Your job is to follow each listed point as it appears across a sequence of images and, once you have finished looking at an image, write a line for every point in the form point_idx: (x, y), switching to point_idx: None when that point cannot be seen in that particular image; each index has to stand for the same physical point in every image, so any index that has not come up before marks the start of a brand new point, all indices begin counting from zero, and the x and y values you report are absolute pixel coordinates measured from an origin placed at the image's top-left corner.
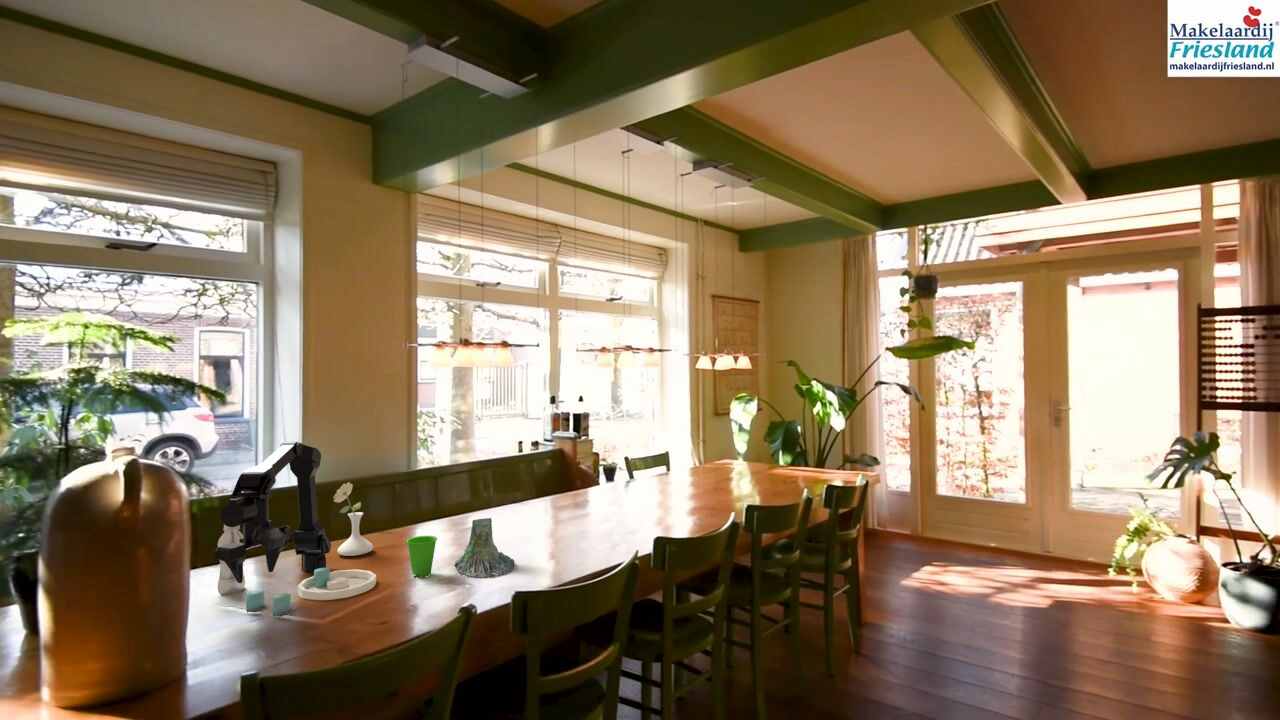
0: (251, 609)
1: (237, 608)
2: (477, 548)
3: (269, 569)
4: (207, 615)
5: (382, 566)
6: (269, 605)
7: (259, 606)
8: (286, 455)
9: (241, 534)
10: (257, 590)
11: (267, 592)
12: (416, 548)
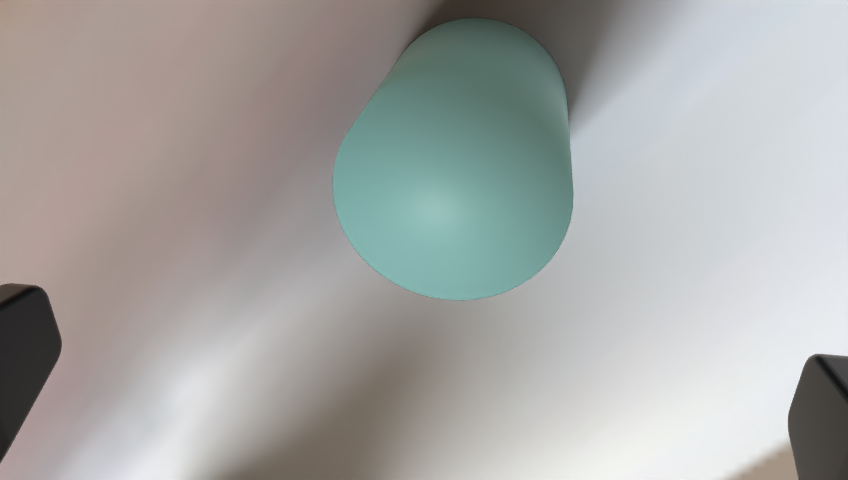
0: (562, 87)
1: (495, 312)
2: None
3: (25, 366)
4: (716, 423)
5: None
6: (317, 62)
7: (493, 34)
8: None
9: None
10: (368, 240)
11: (94, 363)
12: None
